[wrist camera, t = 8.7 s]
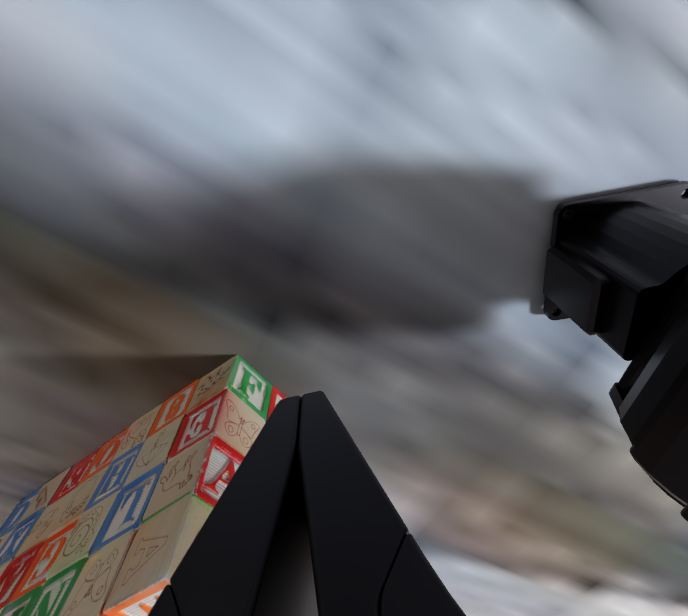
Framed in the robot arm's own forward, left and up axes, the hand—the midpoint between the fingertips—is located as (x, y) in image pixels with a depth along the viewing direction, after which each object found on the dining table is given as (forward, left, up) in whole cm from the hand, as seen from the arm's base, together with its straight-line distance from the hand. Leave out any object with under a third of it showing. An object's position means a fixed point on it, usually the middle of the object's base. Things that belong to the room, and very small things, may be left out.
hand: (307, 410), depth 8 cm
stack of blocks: (+14, +14, -13) cm, 24 cm away
